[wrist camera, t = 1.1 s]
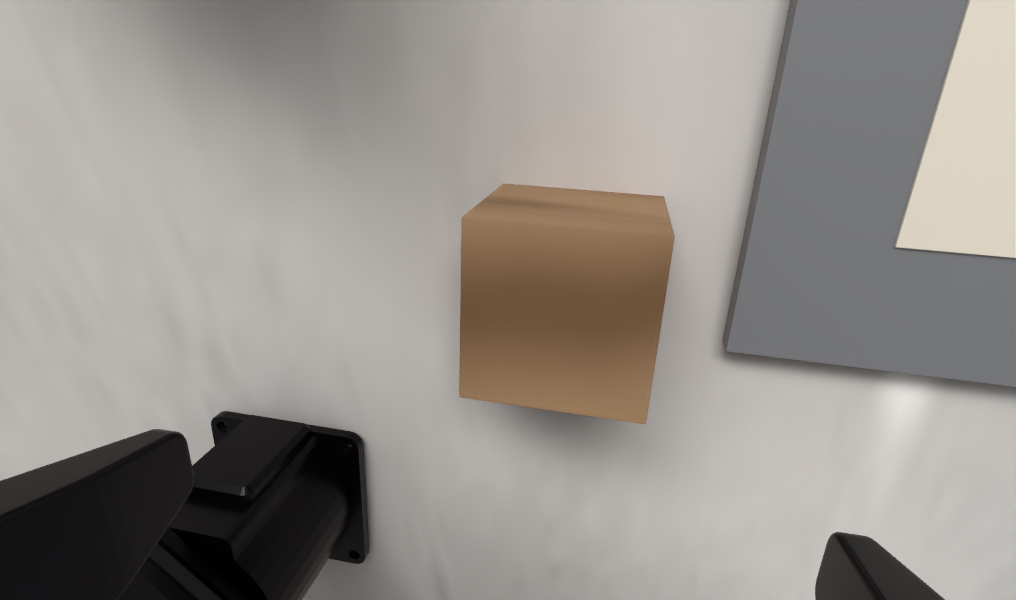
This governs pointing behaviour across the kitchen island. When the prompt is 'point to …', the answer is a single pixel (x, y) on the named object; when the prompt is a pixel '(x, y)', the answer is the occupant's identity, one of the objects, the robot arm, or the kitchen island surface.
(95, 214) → the kitchen island surface
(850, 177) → the baseplate
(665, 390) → the kitchen island surface
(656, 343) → the walnut block
